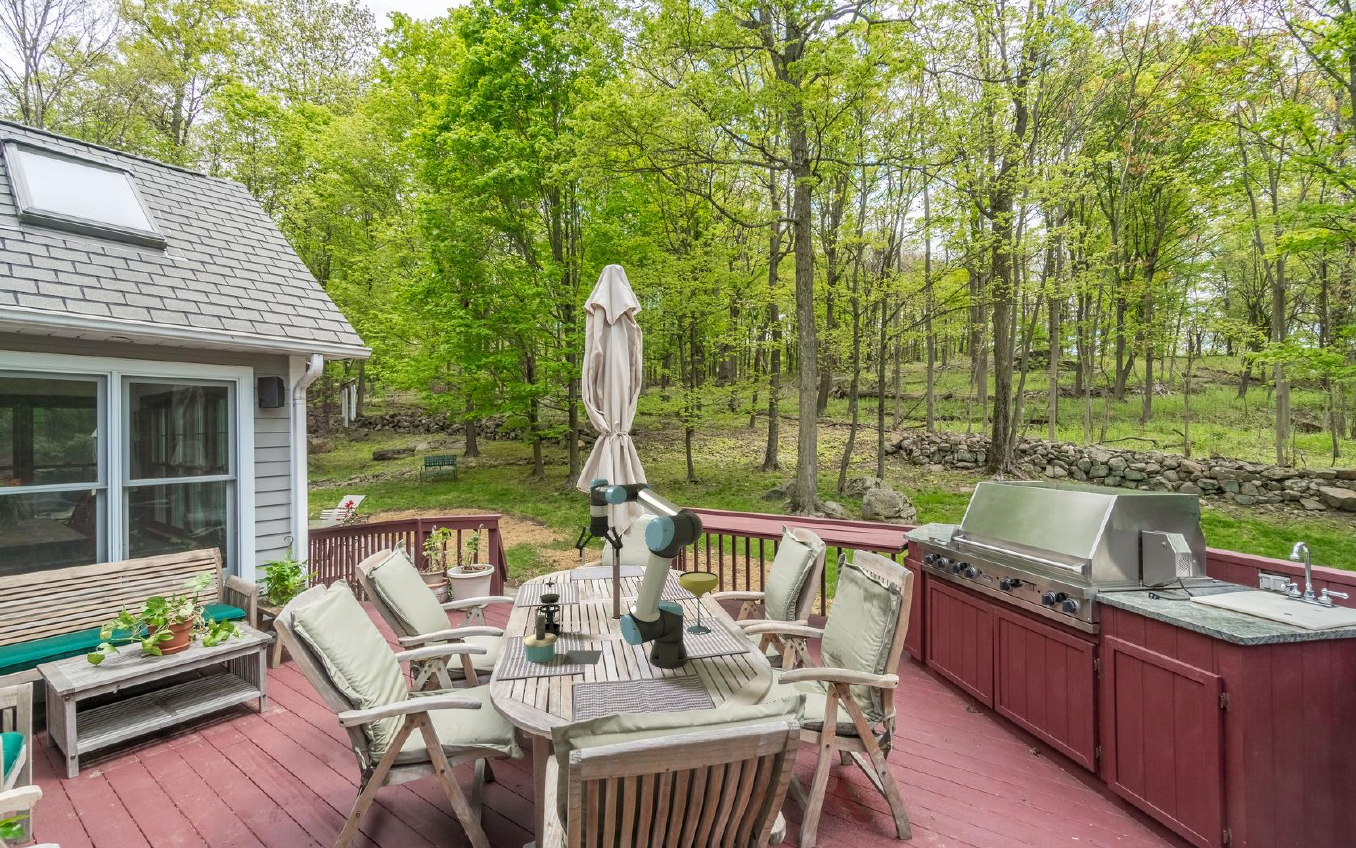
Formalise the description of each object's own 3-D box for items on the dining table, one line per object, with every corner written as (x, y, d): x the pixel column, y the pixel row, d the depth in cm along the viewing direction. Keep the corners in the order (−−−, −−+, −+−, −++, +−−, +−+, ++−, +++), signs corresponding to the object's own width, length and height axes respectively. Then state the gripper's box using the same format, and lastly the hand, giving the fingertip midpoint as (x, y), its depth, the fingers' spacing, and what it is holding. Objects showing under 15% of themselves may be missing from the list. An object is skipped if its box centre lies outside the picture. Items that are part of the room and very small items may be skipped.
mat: (601, 652, 243) (601, 650, 243) (597, 665, 229) (597, 664, 229) (568, 651, 243) (568, 650, 243) (561, 665, 229) (561, 664, 229)
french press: (560, 629, 270) (560, 579, 270) (563, 635, 261) (563, 584, 262) (534, 632, 266) (534, 581, 266) (536, 639, 257) (536, 587, 257)
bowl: (556, 653, 241) (556, 636, 241) (550, 664, 230) (550, 646, 230) (530, 653, 241) (530, 636, 241) (523, 664, 230) (523, 646, 230)
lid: (559, 635, 242) (560, 611, 242) (552, 647, 229) (552, 621, 229) (528, 635, 242) (528, 611, 242) (519, 647, 229) (520, 621, 230)
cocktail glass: (674, 635, 262) (674, 579, 262) (684, 622, 279) (684, 570, 280) (713, 639, 257) (713, 582, 257) (721, 625, 275) (721, 572, 275)
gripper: (629, 513, 253) (629, 562, 252) (571, 513, 253) (571, 562, 253) (627, 516, 245) (627, 567, 245) (568, 516, 245) (568, 567, 245)
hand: (599, 565), depth 249 cm, fingers open, 13 cm apart
